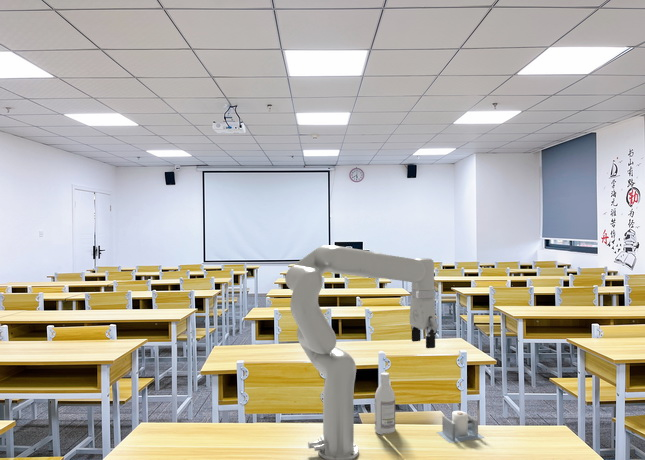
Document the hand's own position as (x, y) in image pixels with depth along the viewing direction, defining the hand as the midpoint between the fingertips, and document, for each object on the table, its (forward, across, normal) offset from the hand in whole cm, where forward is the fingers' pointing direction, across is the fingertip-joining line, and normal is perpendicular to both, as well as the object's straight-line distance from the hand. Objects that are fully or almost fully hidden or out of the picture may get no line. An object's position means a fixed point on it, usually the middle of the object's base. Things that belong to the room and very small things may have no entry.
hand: (423, 344), depth 151 cm
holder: (+30, +6, +10) cm, 33 cm away
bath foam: (+31, -5, -12) cm, 33 cm away
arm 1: (+29, +6, +6) cm, 31 cm away
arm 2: (+29, +6, +14) cm, 33 cm away
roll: (+29, +6, +10) cm, 32 cm away
